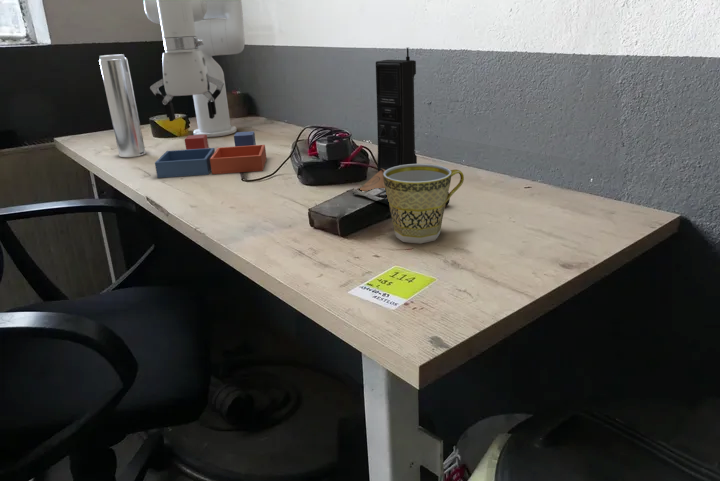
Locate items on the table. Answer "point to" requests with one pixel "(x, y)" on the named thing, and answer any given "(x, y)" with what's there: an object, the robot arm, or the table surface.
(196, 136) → the red block
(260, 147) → the red bin
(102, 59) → the shiny metal cylinder
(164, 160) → the blue bin
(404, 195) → the ceramic cup
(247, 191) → the table surface
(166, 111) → the robot arm
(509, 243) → the table surface
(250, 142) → the blue block
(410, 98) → the portable radio
